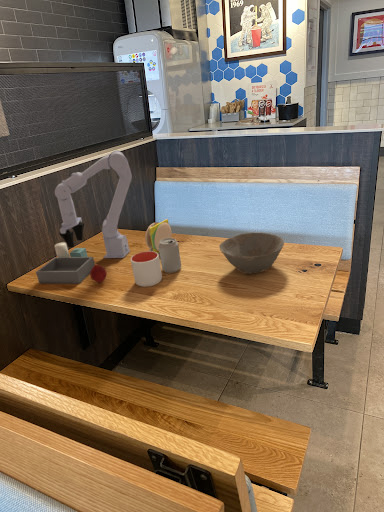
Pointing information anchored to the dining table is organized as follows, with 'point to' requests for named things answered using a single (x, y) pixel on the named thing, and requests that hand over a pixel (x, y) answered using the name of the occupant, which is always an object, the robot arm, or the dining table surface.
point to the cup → (146, 268)
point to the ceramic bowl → (252, 251)
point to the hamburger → (157, 234)
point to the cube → (78, 252)
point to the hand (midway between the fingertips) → (75, 243)
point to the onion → (98, 273)
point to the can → (169, 255)
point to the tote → (65, 270)
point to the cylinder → (61, 250)
